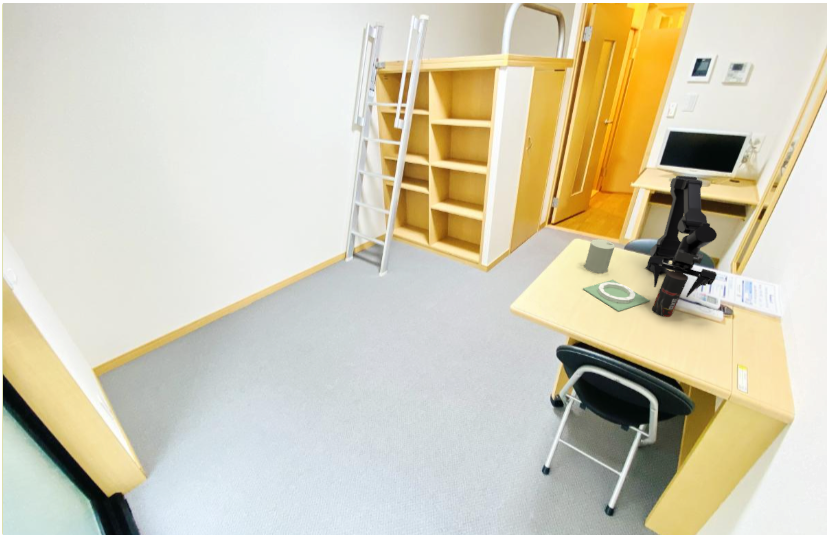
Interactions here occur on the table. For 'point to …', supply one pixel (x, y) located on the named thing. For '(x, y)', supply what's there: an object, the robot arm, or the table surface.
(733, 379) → the table surface
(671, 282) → the deodorant
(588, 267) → the can
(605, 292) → the putting mat
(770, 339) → the table surface
